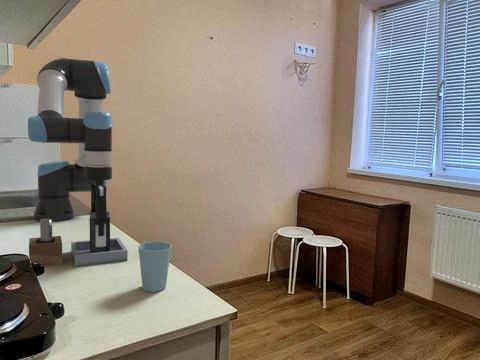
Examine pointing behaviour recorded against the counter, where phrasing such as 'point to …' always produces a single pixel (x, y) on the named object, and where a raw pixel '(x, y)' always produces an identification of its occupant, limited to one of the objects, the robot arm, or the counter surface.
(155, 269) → the cup
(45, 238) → the pin gauge
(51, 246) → the wooden slotted block
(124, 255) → the tray
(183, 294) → the counter surface
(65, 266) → the counter surface
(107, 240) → the box
